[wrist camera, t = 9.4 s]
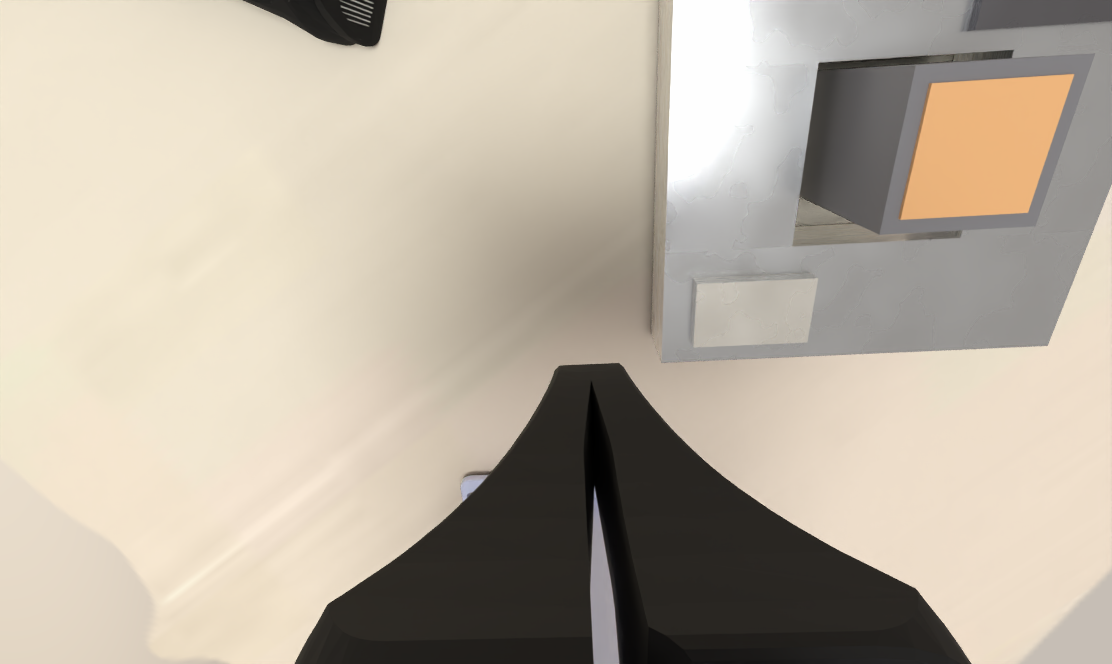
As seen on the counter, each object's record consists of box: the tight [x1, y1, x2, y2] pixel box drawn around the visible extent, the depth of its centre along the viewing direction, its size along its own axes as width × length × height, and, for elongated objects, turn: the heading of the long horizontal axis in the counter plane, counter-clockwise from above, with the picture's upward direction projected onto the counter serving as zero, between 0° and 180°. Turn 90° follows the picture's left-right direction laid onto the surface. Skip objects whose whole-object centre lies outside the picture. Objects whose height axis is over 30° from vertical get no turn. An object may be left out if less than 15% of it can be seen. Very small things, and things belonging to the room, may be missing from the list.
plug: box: [799, 53, 1095, 235], centre depth 15 cm, size 4×4×6 cm
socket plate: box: [651, 0, 1112, 363], centre depth 17 cm, size 14×14×3 cm
